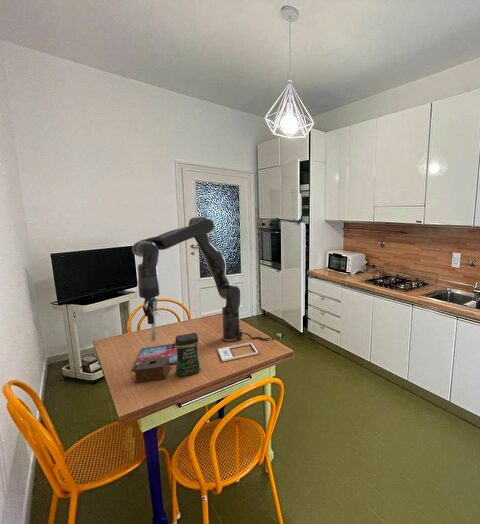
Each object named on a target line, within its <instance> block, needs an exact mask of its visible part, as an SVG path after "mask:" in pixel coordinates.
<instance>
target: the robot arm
mask: <svg viewBox="0 0 480 524" xmlns="http://www.w3.org/2000/svg"><path fill="white" fill-rule="evenodd" d="M214 229H215V222H214V220H213V219H211V218H210V217H208V216H194V217H191V218H190V219H189V221H188V225H187V226H184V227H180V228H175V229H172V230H169V231H166V232H164V233H161V234H159V235H157V236H152V237H147V238H143V239H140V240H138V241H136V242H135V243H134V244H133V245H132V247H131V251H132V253H133V254H134V255H135V256H136V257H140V258H142V261H141V262H140V263H139V264H138V265H137V278H138V279H137V284H138V297H139V298H142V299H144V301H143V306H142V310H143V311H142V312H143V313H144V316H145V317H147V324H148V325H152V324H153V323H154V316H153V315H154V312H155V313H156V314H157V307H158V298H156V297H159V296H160V283H159V277H158V267H157V266H158V262H159V259H160V251H164V250H168V249H170V248H172V247H175V246H177V245H179V244H181V243H184V242H186V241H189V240H191V239H194V241H196V244H197V245H198V248H199V250H200V251H201V254H202V255H203V258H204V260H205V263H206V265H207V268H208V269H209V271H210V274H211V276H212V278H213V280H214V283H215V286H216V289H217V293H218V295H219V297H220V298H221V299H223V300H225V305H223V306H222V307H221V315H222V316H221V318H222V320H221V321H222V340H223V341H224V342H234V341H237V340H240V338H241V337H243V335H246V336H248V337H249V338H250V339H251V340H256V339H261V340H263V341H267V340H272V341H275V338H274V337H266V338H263V337H261V336H256V337H255V336H254V337H252V336H251V334H249V333H246V332H244V331H243V328H241V329H240V306H241V290H240V287H239V286H237V285H235V284H231V283H230V282H229V280H228V277H227V273H226V272H227V264H226V263H227V262H226V259H225V258H224V255H223V252H221V250H220V249H219V248H218V247H217V246H216V245H215V244H214V242H212V240H211V239H210V238H209V234H211V233H212V232H213V231H214ZM271 338H272V339H271Z"/></svg>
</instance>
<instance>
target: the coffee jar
mask: <svg viewBox="0 0 480 524" xmlns="http://www.w3.org/2000/svg"><path fill="white" fill-rule="evenodd" d="M199 342H200V341H199V336H198V334H197V333H196V332H191V333H185V334H180V335H176V336H175V342H174V343H175V347H176V348H177V363H176V366H175V372H176V375H177V376H178V377H186V376H190V375H195V374H197V373H198V372H199V371H200V369H201V368H200V367H201V365H200V359H199V352H198V351H199V350H198V347H199Z"/></svg>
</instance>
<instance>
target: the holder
mask: <svg viewBox="0 0 480 524" xmlns="http://www.w3.org/2000/svg"><path fill="white" fill-rule="evenodd" d="M170 367H171V366H170V365H169V356H164V357H156V358H147V359H142V361H141V362H140V364H139V365H138V366H137V368H136V369H135V371H134V374H135V375H134V376H135V383H136V384H138V383H144V382H153V381H158V380H164V379H165V378H166V376H167V374H168V372H169V370H170Z"/></svg>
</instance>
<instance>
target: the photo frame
mask: <svg viewBox="0 0 480 524" xmlns="http://www.w3.org/2000/svg"><path fill="white" fill-rule="evenodd" d="M245 346H251V348H252V349H253V350H254V352H251V353H247V354H242V355H237V356H233V354H232V352H231V350H230V349H235V348H241V347H245ZM217 352H218V354H219V357H220V360H221V362H222V363H224V362H228V361H233V360H237V359H242V358H247V357H251V356H256V355H259V351H258V350H257V348H256V347H255V345H254V344H253V343H252V342H246V343H241V344H236V345H232V346H231V345H230V346H226V347H220V348H218V349H217Z"/></svg>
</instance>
